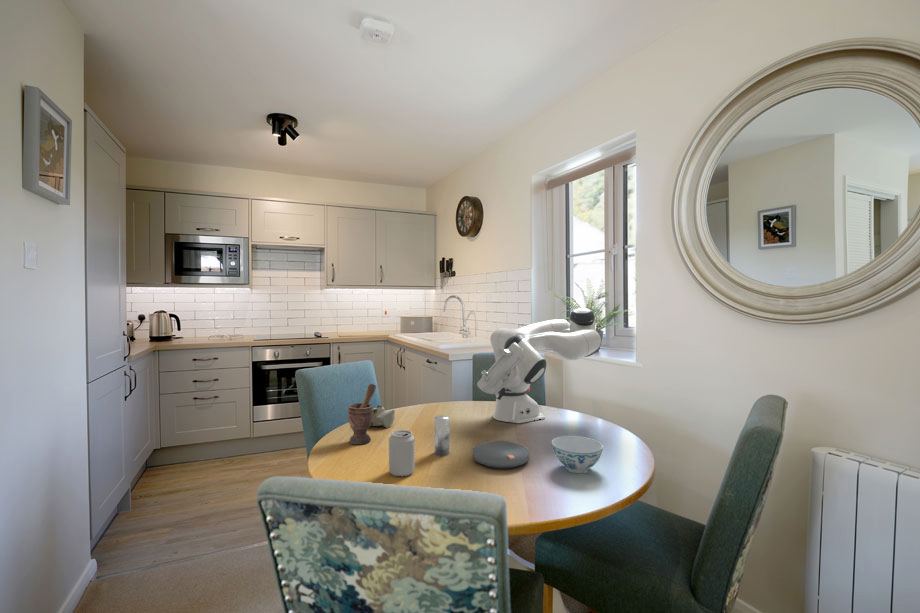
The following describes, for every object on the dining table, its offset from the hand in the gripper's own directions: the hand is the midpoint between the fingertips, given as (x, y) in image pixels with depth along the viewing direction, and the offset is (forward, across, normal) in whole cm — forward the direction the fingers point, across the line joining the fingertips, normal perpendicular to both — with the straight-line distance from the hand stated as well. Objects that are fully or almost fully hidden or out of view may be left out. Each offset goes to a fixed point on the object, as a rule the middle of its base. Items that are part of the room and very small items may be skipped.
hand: (492, 361), depth 143 cm
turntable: (-7, +21, -21) cm, 30 cm away
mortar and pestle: (-2, +54, +20) cm, 57 cm away
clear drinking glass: (-4, +34, -6) cm, 35 cm away
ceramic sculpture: (-18, +52, +29) cm, 62 cm away
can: (+14, +42, -9) cm, 45 cm away
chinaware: (-12, +7, -40) cm, 42 cm away
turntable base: (-8, +22, -22) cm, 31 cm away
